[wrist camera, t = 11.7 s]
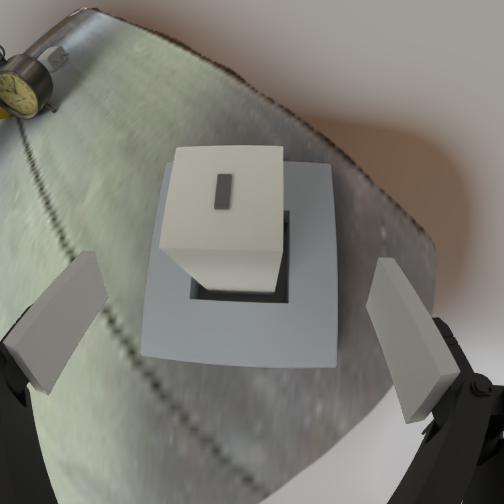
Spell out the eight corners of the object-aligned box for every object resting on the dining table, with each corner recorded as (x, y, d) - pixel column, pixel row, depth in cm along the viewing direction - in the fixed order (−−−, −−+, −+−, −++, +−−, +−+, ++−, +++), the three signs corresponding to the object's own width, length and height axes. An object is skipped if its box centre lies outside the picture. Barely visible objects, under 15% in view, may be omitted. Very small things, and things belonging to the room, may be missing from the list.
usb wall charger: (58, 58, 38) (50, 45, 34) (76, 57, 36) (68, 43, 33) (44, 72, 37) (36, 59, 33) (61, 71, 35) (52, 57, 32)
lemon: (-3, 127, 33) (-26, 104, 26) (13, 104, 35) (-8, 80, 27) (9, 127, 33) (-15, 101, 25) (26, 102, 34) (4, 75, 26)
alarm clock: (16, 126, 32) (-35, 68, 17) (31, 102, 34) (-13, 43, 18) (54, 120, 31) (-2, 46, 16) (71, 93, 33) (25, 20, 17)
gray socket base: (327, 363, 21) (336, 367, 19) (154, 353, 22) (140, 355, 19) (324, 181, 26) (330, 163, 23) (175, 179, 27) (166, 162, 24)
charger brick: (273, 295, 23) (283, 249, 11) (210, 292, 23) (157, 246, 11) (275, 235, 24) (283, 143, 12) (215, 233, 24) (175, 144, 13)
